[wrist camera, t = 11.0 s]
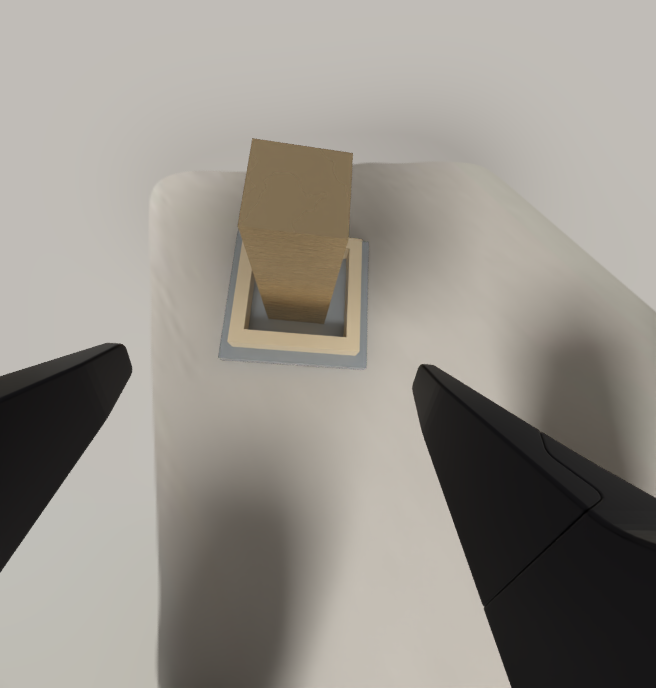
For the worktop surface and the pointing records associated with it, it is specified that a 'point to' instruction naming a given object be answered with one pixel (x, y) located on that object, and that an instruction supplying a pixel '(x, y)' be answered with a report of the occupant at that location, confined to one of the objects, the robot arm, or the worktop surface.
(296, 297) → the brown wooden block
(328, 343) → the dock
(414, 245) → the worktop surface
